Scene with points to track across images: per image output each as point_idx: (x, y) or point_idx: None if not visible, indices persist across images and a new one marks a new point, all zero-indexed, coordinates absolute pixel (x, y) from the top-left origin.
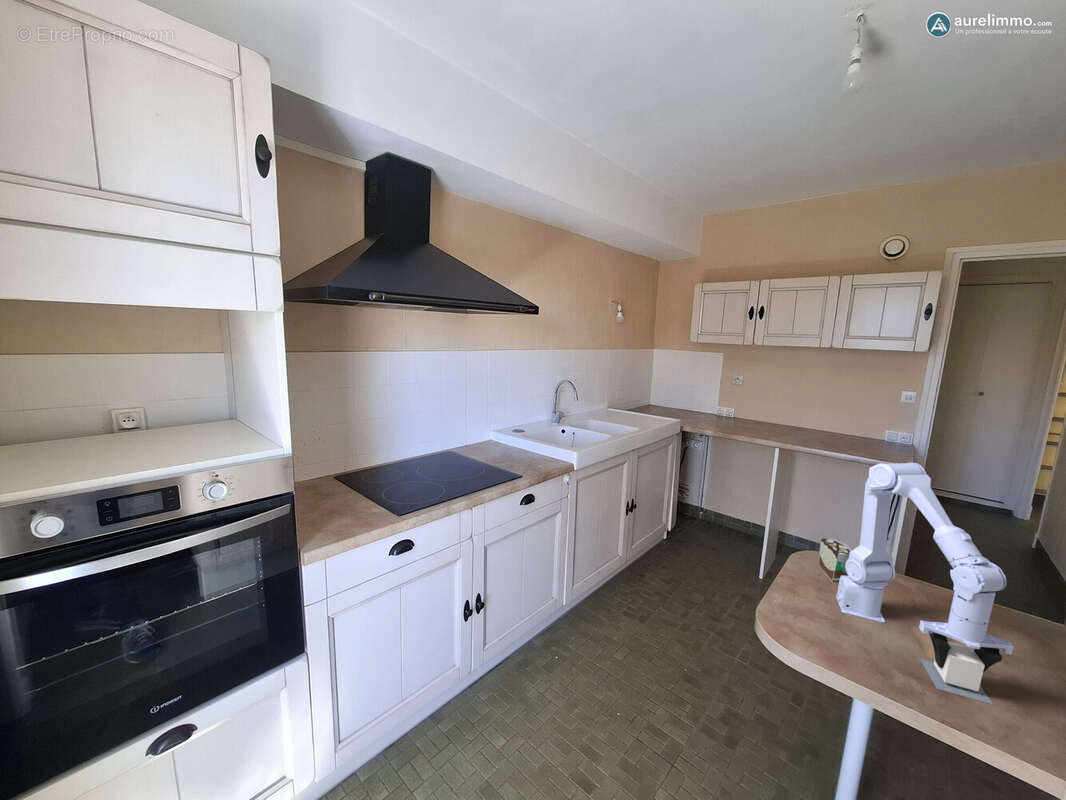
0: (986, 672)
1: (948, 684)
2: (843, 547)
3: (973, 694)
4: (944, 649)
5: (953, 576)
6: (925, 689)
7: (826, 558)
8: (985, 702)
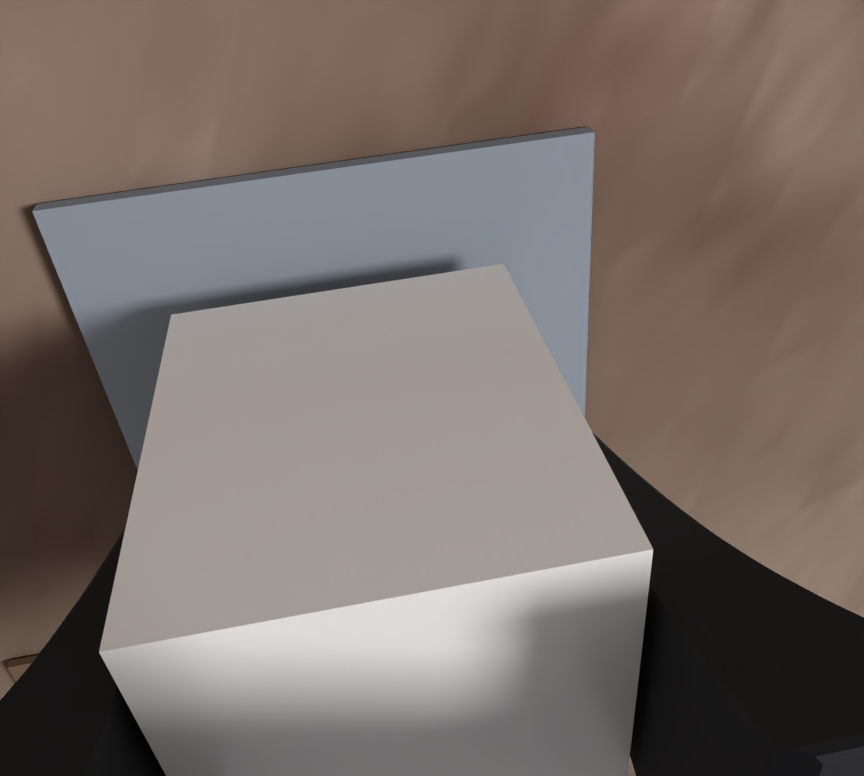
0: None
1: None
2: None
3: (218, 267)
4: (778, 644)
5: None
6: (722, 45)
7: None
8: (110, 197)
